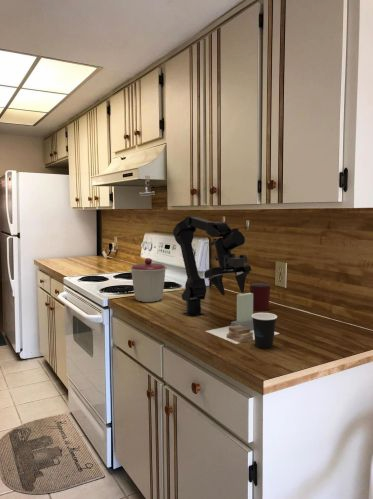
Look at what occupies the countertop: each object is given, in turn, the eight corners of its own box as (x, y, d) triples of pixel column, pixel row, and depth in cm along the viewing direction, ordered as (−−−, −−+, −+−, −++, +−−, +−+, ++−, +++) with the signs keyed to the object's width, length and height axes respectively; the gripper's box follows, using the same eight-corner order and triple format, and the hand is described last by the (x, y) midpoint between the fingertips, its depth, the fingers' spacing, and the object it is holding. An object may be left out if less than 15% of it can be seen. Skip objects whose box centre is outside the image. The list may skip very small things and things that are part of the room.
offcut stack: (226, 337, 138) (226, 327, 138) (239, 334, 141) (239, 324, 141) (240, 343, 132) (240, 332, 132) (254, 339, 135) (254, 329, 135)
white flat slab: (205, 334, 146) (205, 322, 145) (247, 325, 156) (247, 314, 156) (236, 347, 131) (236, 334, 131) (279, 336, 142) (280, 325, 142)
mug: (242, 306, 188) (242, 282, 187) (258, 304, 192) (258, 281, 191) (257, 312, 177) (257, 287, 176) (274, 310, 181) (274, 285, 180)
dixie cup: (277, 346, 132) (277, 313, 131) (276, 354, 124) (276, 319, 123) (252, 344, 134) (252, 311, 133) (250, 352, 126) (250, 318, 125)
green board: (236, 330, 146) (236, 294, 145) (249, 327, 150) (249, 292, 148) (240, 331, 145) (240, 295, 143) (252, 328, 148) (253, 293, 147)
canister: (124, 299, 204) (123, 257, 202) (154, 295, 215) (154, 255, 213) (142, 306, 190) (141, 261, 188) (174, 301, 200) (173, 258, 198)
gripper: (216, 248, 143) (226, 292, 140) (255, 246, 153) (265, 286, 150) (199, 257, 152) (208, 298, 149) (237, 254, 162) (246, 292, 159)
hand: (233, 293), depth 152 cm, fingers open, 9 cm apart
